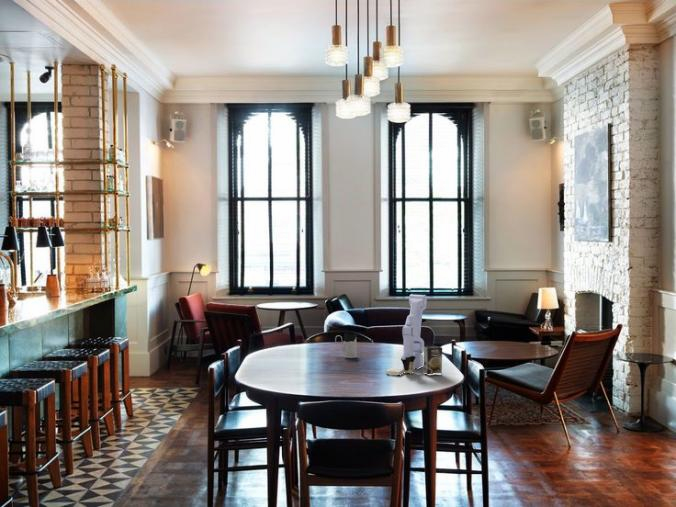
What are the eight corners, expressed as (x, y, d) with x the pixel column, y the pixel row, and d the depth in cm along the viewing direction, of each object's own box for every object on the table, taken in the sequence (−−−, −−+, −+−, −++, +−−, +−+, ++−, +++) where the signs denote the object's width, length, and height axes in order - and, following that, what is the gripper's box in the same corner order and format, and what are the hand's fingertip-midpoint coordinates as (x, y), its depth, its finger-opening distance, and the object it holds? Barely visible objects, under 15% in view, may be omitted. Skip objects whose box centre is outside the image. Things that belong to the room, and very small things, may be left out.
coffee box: (427, 376, 380) (427, 348, 379) (423, 373, 386) (423, 346, 386) (442, 375, 382) (442, 347, 382) (437, 373, 389) (438, 345, 388)
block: (406, 371, 391) (406, 361, 390) (413, 372, 388) (413, 362, 388) (403, 373, 387) (403, 363, 386) (410, 374, 385) (410, 364, 384)
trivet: (391, 372, 390) (391, 367, 390) (404, 373, 386) (404, 369, 386) (385, 374, 383) (385, 370, 383) (398, 376, 379) (398, 371, 379)
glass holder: (357, 357, 430) (357, 334, 430) (334, 357, 430) (335, 334, 430) (356, 355, 439) (357, 332, 438) (335, 354, 439) (335, 332, 439)
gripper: (409, 349, 378) (409, 372, 379) (419, 345, 391) (419, 368, 392) (398, 347, 382) (398, 371, 383) (408, 343, 395) (408, 366, 395)
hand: (408, 369), depth 387 cm, fingers closed on block, 5 cm apart
